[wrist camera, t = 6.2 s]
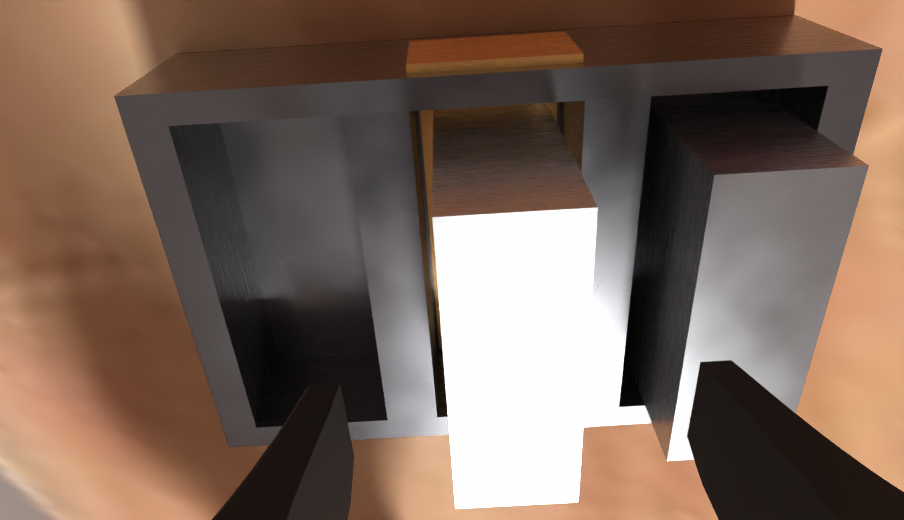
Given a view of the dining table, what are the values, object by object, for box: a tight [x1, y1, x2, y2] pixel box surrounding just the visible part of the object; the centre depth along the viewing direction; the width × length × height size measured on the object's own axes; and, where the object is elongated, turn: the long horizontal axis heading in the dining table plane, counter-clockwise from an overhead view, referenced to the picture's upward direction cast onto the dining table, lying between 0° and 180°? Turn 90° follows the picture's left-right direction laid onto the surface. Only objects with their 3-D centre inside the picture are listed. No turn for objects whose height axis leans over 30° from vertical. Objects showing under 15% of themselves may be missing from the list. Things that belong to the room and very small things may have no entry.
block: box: [432, 103, 598, 509], centre depth 17 cm, size 8×3×7 cm, turn 3°
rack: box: [114, 15, 882, 461], centre depth 18 cm, size 11×17×7 cm, turn 93°
